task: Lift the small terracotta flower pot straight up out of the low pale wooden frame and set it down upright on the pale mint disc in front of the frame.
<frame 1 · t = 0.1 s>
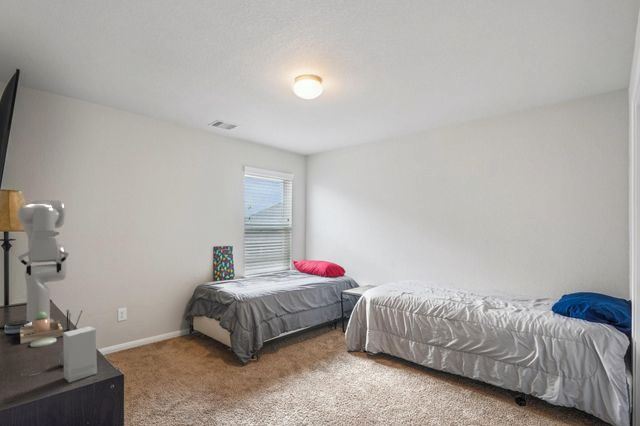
hand: (44, 273, 147), 31 cm above the dresser, tool pointing down, fingers open, 9 cm apart
reed diffuser: (71, 364, 124), on the dresser
terracotta pot: (41, 335, 159), resting in wooden frame
skincare box: (80, 376, 114), on the dresser
pale mint disc: (43, 343, 148), on the dresser
wooden frame: (41, 335, 159), on the dresser
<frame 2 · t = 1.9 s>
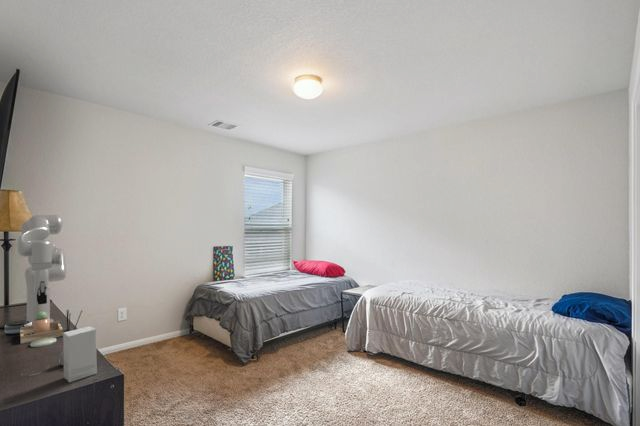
hand: (41, 302, 160), 16 cm above the dresser, tool pointing down, fingers open, 9 cm apart
nothing on the dresser moved.
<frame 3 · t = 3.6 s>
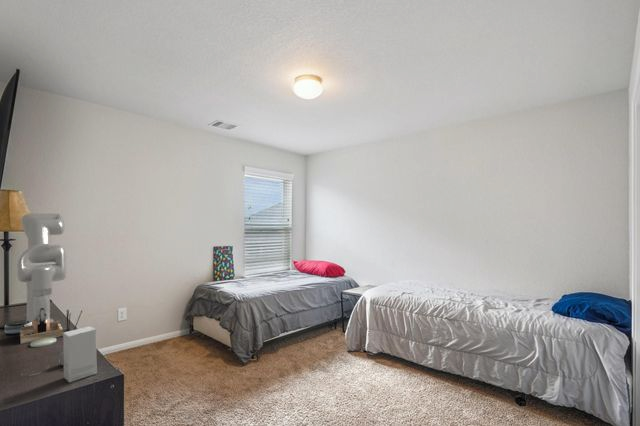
hand: (41, 330, 159), 3 cm above the dresser, tool pointing down, fingers closed on terracotta pot, 6 cm apart
terracotta pot: (41, 335, 159), resting in wooden frame, touching gripper
everything else where it was.
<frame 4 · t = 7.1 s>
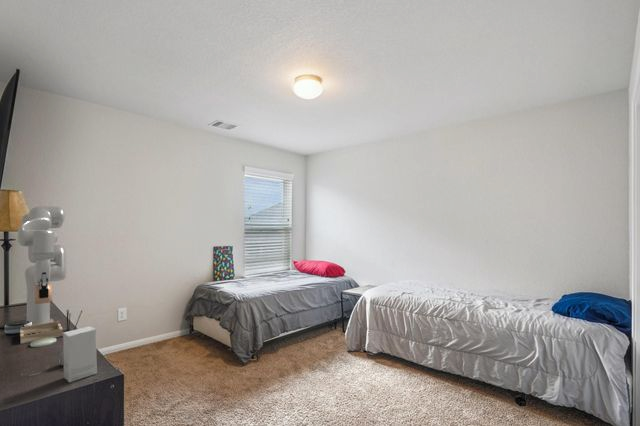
hand: (43, 296, 151), 20 cm above the dresser, tool pointing down, fingers closed on terracotta pot, 6 cm apart
terracotta pot: (43, 302, 151), point 18 cm above the dresser, touching gripper
everything else where it was.
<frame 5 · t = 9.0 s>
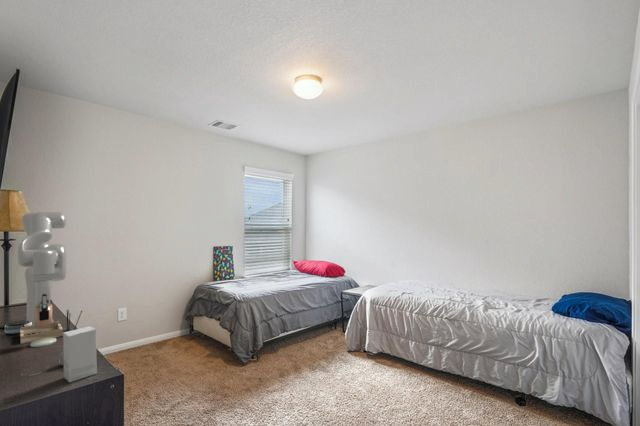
hand: (43, 318, 149), 11 cm above the dresser, tool pointing down, fingers closed on terracotta pot, 6 cm apart
terracotta pot: (43, 324, 148), point 9 cm above the dresser, touching gripper
everything else where it was.
when the fingers open (5 cm above the dresser, at t = 10.6 s): terracotta pot drops 1 cm, resting on pale mint disc.
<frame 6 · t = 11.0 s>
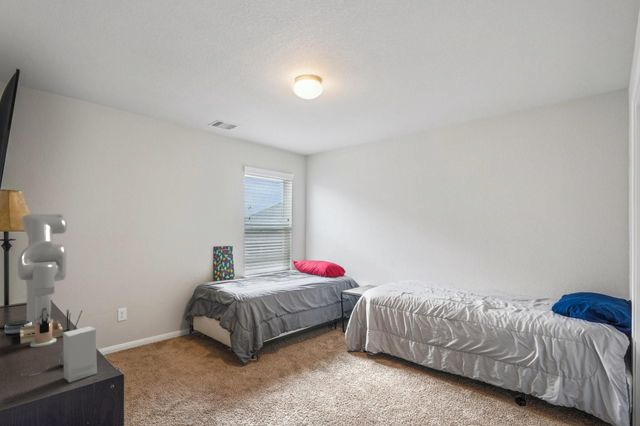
hand: (43, 330, 149), 6 cm above the dresser, tool pointing down, fingers open, 9 cm apart
terracotta pot: (43, 341, 148), point 1 cm above the dresser, touching pale mint disc
everything else where it was.
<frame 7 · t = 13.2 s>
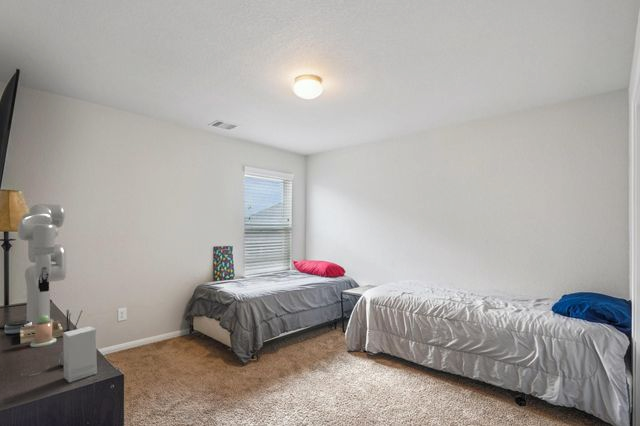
hand: (43, 289, 150), 24 cm above the dresser, tool pointing down, fingers open, 9 cm apart
nothing on the dresser moved.
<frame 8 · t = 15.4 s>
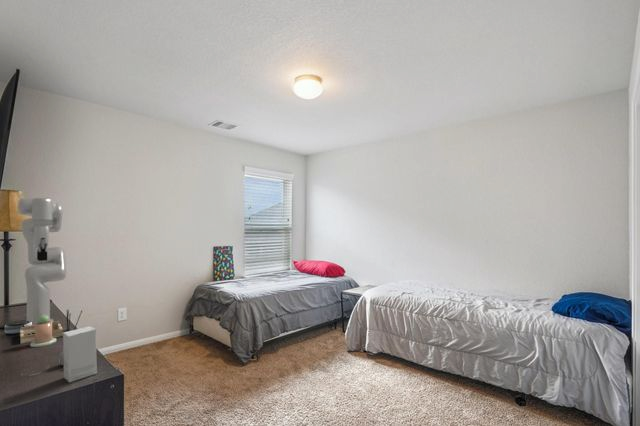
hand: (42, 259, 158), 36 cm above the dresser, tool pointing down, fingers open, 9 cm apart
nothing on the dresser moved.
at the end: terracotta pot 0.1 cm off-centre on the pale mint disc, point 1.0 cm above the pale mint disc's base; terracotta pot tilted 0°; the gripper is holding nothing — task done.
